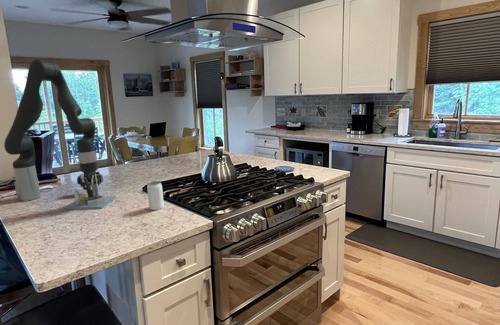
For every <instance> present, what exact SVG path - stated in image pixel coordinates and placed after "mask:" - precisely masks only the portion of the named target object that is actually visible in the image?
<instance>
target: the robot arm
mask: <svg viewBox="0 0 500 325" xmlns="http://www.w3.org/2000/svg"><path fill="white" fill-rule="evenodd" d="M44 81H45V82H51V83H52V84H53V86H55V88H56V91H57V97H56V98H57V103H58V105H59V107H60V108H61V110H62V112H63V113H64V115H65V117H66V120H67V123H68V127H69V130H70V132H72V133H73V134H75V135H82V137H81V138H80V139H78V140H77V141H76V146H77V153H78V155H77V156H78V157H77V158H78V163H79V170H80V172H82V174H84V178H81V179H80V181H81V184H82V187H81V188H82V189H83V190H84V191H86V190H87V194H88V197H93V192H92V185H93V183H97V187H98V184H99V183H100V175H101V174H100V171H97V170H98V169H99V166H98V159H97V153H96V149H95V135H96V123H95V120H93V119H92V118H90V117H84V118H83V117H81V118H79V116H81V115H82V112H83V110H82V108H81V106H80V105H79V104H78V102H77V101H76V99H75V98H74V95H73V94H72V93H71V90H70V88H69V86H68V84H67V81H66V79H65V77H64V75H63V72H62V70H61V68H60V66H59V65H58V63H56V62H55V61H51V60H45V59H33V60H32V61H31V62H30V64H29V68H28V71H27V76H26V81H25V86H24V90H23V93H22V96H21V99H20V102H19V105H18V107H17V111H16V114H15V116H14V120H13V122H12V124H11V128H10V129H9V131H8V133H7V135H6V137H5V140H4V144H3V146H4V149H5V152H6V153H7V154H9V155H12V156H14V155H18V158H16V160H14V161H12V168H13V172H14V178H15V181H14V183H13V184H14V187H15V188H14V189H15V193H16V197H17V201H20V202H27V201H28V202H29V201H33V200H37V199H40V198H41V191H40V184H39V178H38V174H37V173H38V172H37V168H36V153H35V152H36V151H35V144H34V141H33V139H32V138H31V136H30V135H27V134H26V133H27V132H28V131H29V129H31V128H32V127H33V126H34V125H35V124H36V123H37V121H38V120H39V119H40V117H41V115H42V112H43V110H44V103H43V102H44V101H43V99H42V97H41V96H42V95H41V94H40V89H41V85H42V83H43V82H44ZM96 176H97V177H96ZM88 182H90V183H88ZM89 185H90V187H89ZM85 186H86V187H85Z"/></svg>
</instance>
